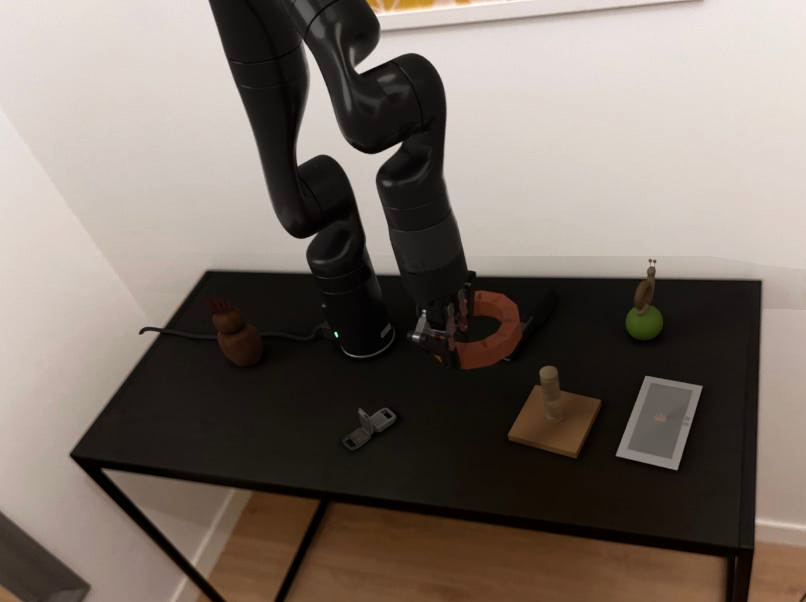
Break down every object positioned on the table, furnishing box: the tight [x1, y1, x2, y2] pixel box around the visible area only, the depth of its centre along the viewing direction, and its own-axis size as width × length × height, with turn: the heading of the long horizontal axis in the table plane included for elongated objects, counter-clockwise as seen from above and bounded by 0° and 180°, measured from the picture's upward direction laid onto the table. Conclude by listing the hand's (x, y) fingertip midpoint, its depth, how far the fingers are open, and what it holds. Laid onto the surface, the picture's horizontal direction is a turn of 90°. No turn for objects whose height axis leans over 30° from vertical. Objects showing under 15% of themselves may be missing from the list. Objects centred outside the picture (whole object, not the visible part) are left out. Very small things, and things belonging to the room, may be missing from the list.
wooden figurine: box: [201, 293, 264, 367], centre depth 118 cm, size 7×6×15 cm
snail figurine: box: [625, 258, 664, 341], centre depth 105 cm, size 5×6×12 cm
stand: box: [507, 365, 602, 459], centre depth 96 cm, size 10×10×10 cm
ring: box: [433, 290, 522, 370], centre depth 92 cm, size 12×12×3 cm
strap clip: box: [341, 407, 397, 451], centre depth 104 cm, size 8×3×4 cm, turn 128°
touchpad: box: [615, 375, 704, 471], centre depth 95 cm, size 8×15×2 cm, turn 154°
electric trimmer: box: [503, 287, 558, 362], centre depth 114 cm, size 4×16×3 cm, turn 142°
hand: (457, 360), depth 89 cm, fingers closed on ring, 2 cm apart
